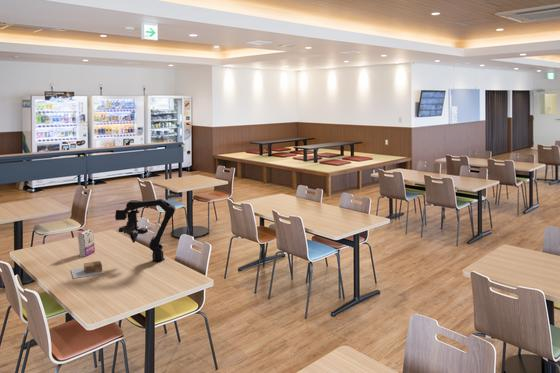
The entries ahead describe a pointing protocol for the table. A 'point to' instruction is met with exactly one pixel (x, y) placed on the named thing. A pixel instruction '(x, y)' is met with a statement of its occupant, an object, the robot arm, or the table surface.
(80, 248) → the candy bar box
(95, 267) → the walnut block
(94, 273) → the slate board
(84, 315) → the table surface
